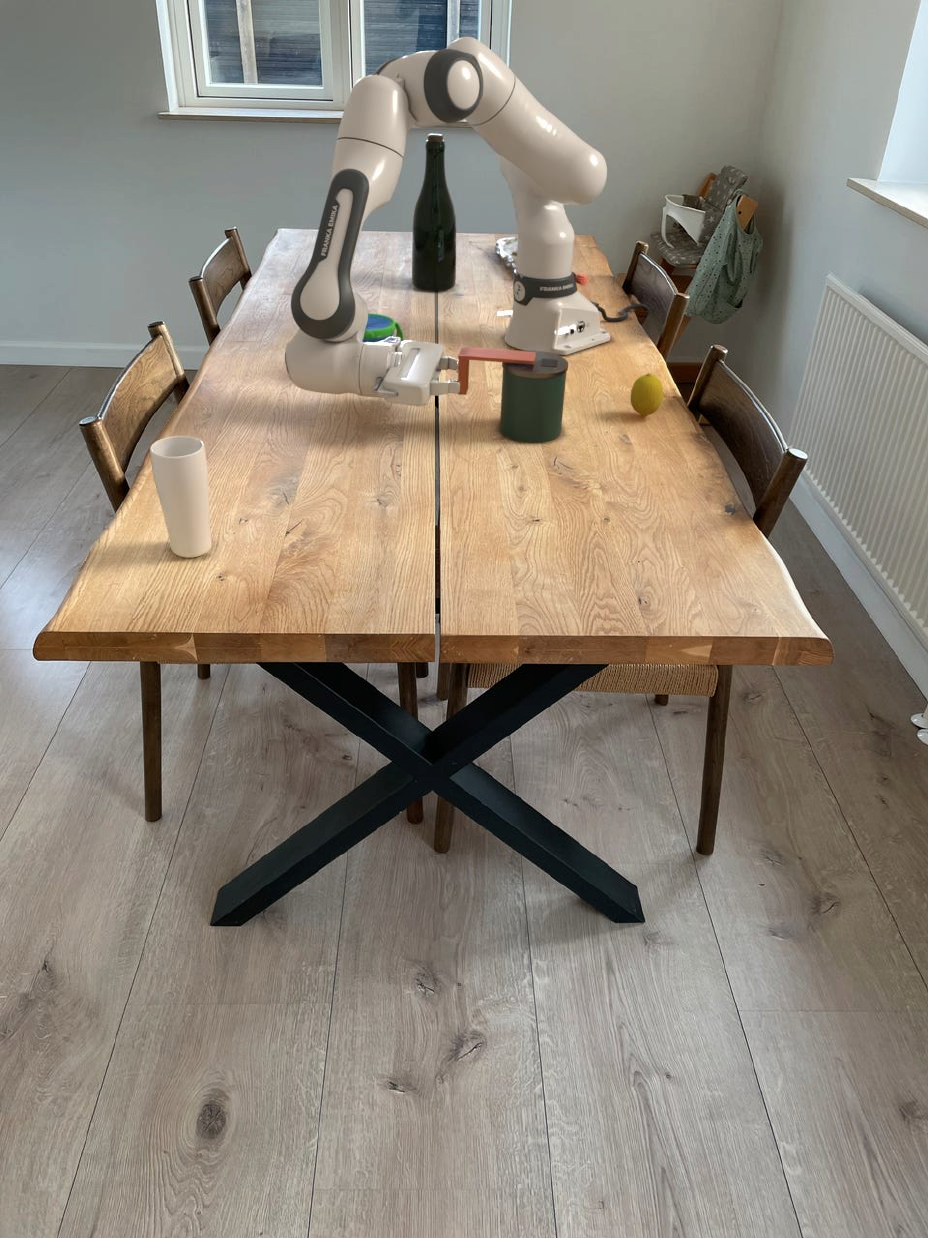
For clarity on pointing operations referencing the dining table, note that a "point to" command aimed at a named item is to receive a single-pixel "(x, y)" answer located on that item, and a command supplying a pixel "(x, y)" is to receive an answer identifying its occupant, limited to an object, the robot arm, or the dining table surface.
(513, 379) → the green canister
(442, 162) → the dark green wine bottle
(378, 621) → the dining table surface
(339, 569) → the dining table surface
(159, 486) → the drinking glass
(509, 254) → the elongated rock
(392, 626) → the dining table surface
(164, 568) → the dining table surface
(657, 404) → the lemon
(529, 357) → the bracket
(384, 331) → the snack cup
